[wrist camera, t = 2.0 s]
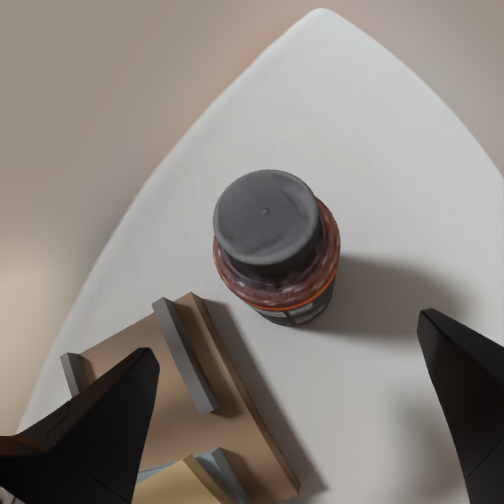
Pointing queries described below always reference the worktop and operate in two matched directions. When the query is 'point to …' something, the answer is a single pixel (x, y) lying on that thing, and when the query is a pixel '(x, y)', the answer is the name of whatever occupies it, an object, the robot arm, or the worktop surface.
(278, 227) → the supplement bottle
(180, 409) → the shelf board
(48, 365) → the worktop surface
